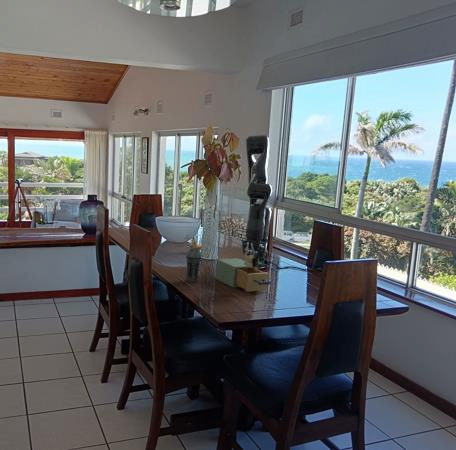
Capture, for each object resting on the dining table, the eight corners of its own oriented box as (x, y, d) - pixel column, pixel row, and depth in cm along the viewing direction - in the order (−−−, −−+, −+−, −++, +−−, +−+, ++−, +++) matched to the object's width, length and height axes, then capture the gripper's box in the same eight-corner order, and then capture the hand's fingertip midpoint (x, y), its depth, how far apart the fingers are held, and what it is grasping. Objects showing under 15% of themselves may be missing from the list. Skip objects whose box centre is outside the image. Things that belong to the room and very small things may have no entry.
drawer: (274, 293, 201) (276, 276, 199) (253, 295, 195) (255, 277, 194) (248, 281, 217) (250, 265, 215) (228, 282, 212) (230, 266, 210)
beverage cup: (202, 281, 214) (206, 239, 210) (193, 284, 208) (197, 241, 205) (190, 277, 218) (194, 236, 215) (180, 280, 213) (184, 238, 210)
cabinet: (254, 285, 213) (257, 265, 212) (232, 287, 208) (235, 267, 206) (236, 277, 226) (238, 258, 225) (214, 278, 221) (216, 259, 219)
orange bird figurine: (213, 256, 270) (215, 237, 268) (183, 253, 271) (184, 234, 269) (213, 253, 276) (215, 235, 275) (183, 250, 278) (185, 232, 276)
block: (251, 264, 209) (252, 254, 208) (257, 266, 205) (259, 257, 204) (244, 264, 207) (245, 255, 206) (250, 267, 203) (251, 257, 202)
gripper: (272, 230, 199) (267, 269, 201) (251, 225, 211) (247, 261, 214) (258, 231, 195) (254, 269, 198) (238, 225, 208) (234, 261, 211)
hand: (250, 265), depth 206 cm, fingers closed on block, 4 cm apart
